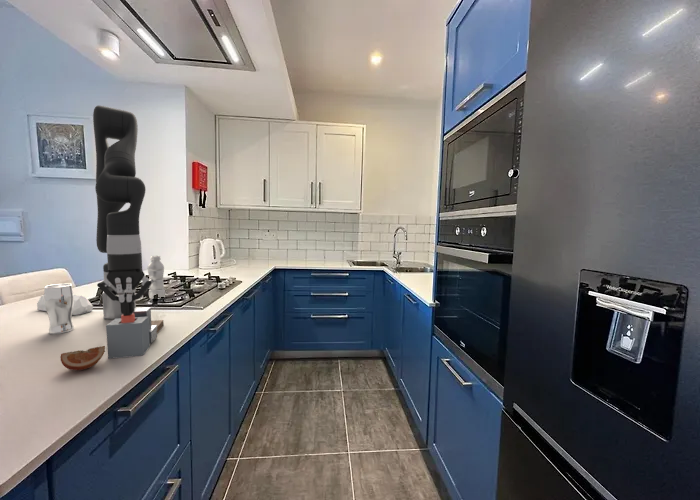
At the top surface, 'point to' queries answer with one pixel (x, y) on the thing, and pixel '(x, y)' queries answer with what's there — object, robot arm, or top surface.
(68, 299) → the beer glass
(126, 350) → the cabinet
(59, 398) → the top surface
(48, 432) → the top surface
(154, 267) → the plastic bottle
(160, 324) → the rail
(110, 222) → the robot arm
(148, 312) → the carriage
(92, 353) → the fruit slice
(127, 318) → the button
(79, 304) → the crystal
